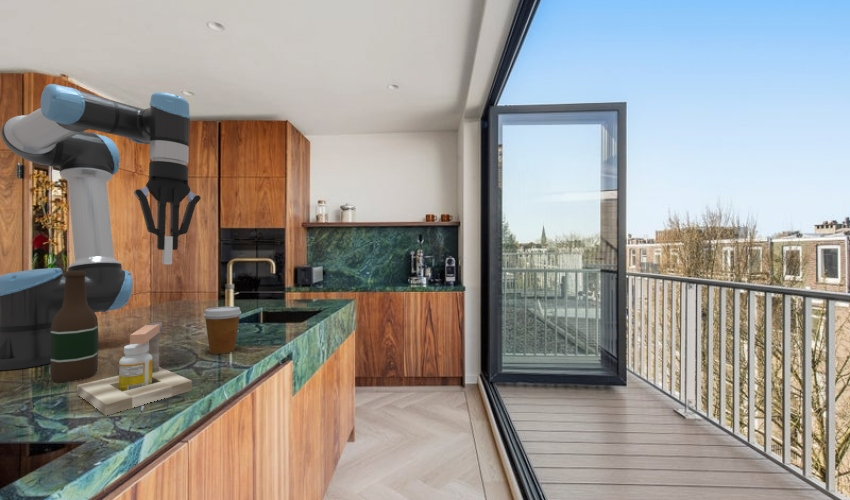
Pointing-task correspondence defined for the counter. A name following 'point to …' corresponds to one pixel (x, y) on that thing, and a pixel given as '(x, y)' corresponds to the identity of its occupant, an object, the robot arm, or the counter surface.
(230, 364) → the counter surface
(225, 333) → the disposable coffee cup
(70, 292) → the beer bottle
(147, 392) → the keeper board
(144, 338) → the bar
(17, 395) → the counter surface
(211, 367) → the counter surface
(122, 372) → the supplement bottle
